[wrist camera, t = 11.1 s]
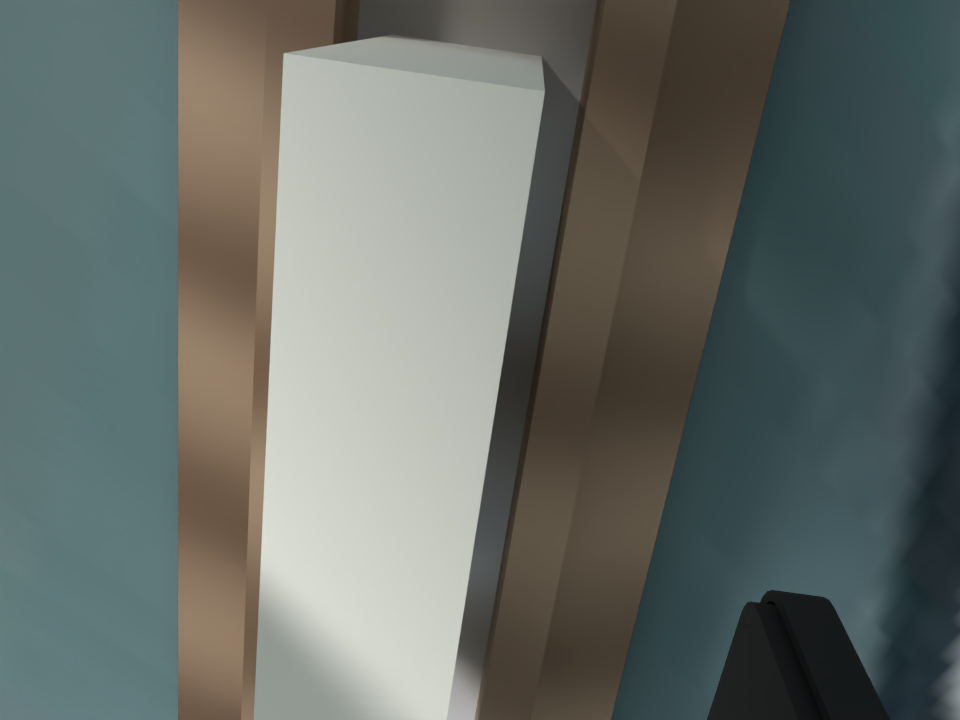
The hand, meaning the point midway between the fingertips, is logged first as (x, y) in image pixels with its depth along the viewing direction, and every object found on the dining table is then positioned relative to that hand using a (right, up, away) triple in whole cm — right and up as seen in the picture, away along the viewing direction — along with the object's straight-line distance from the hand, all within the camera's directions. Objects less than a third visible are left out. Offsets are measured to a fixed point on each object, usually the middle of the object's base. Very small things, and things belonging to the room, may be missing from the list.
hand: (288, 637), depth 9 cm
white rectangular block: (+1, +4, +11) cm, 11 cm away
